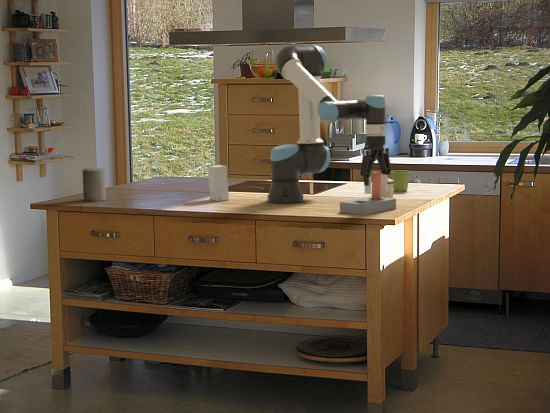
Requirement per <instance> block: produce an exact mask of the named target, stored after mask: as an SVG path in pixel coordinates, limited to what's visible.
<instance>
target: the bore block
mask: <svg viewBox="0 0 550 413" xmlns="http://www.w3.org/2000/svg"><path fill="white" fill-rule="evenodd" d="M391 209H392V210H395V209H397V198H394V197H393V198H385V197H381V199H380V200H372V195H371V196H366V197H361V198H355V199H348V200H345V201H344V200H343V201H339V213H344V214H351V215H358V214H359V216H368V215H373V214H376V213H377V212H378V213H381V211H383V212H387V211H391ZM386 210H387V211H386Z"/></svg>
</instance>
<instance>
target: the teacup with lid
mask: <svg viewBox="0 0 550 413" xmlns="http://www.w3.org/2000/svg"><path fill="white" fill-rule="evenodd" d="M393 183H394V182H393V180H392V178H389V177H388V181H387V191H381V197H385V198H394V190H393ZM371 184H372V181H371Z"/></svg>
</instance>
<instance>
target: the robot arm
mask: <svg viewBox="0 0 550 413" xmlns="http://www.w3.org/2000/svg"><path fill="white" fill-rule="evenodd" d="M327 58H328V57H327V55H326V52H325V50H323V48H322V47H320V46H319V45H314V44H313V45H312V44H303V45H301V44H299V45H297V44H290V45H286V46H284V47H282V48H280V50H278V52H277V54H276V56H275V59H274V60H275V68H276V70H277V72H278V73H279V74H280V75H281V76H282V78H283V79H285V80H289V81H290V82H291V83H292V84H293V85H294V86H295V88H297V90H298V91H297V92H298V114H299V115H298V116H299V118H298V119H299V140H297V141H296V144H294V143H291V144H283V145H277V146H275V147H273V148H272V149H271V150H270V157H269V159H270V178H271V183H270V186H269V190H268V191H269V192H268V194H267V202H268V203H272V204H295V203H301V202H303V201H304V194H303V192H302V188H301V185H300V176H301V175H310V174H314V175H315V174H318V173H319V174H320V173H323V172H325V171H326V169H327V168H328V167H329V165H330V162H331V152H330V150H329V148H328V146H326V145H325V141H324V140H323V139H322V138H321V124H320V122H321V121H323V122H334V121H336V122H337V121H347V120H348V121H349V120H365V135H366V136H365V145H366V146H367V150H362V158H361V166H360V173H359V176H361V177H363V185H364V194H367V195H372V183H371V182H372V176H371V175H372V172H373V171H372V170H373V168H374V164H375V162H377V163H378V165H379V168H380V172H381V191H387V181H388V178H389V177H388V175H391V173H390V172H391V171H392V167H391V166H392V165H391V161H390V160H391V159H390V155H389V151H390V149H389V147H384V146H385V145H386V106H387V105H386V96H385V95H383V94H382V95H381V94H373V95H371V94H370V95H366V96H365V99H356V98H355V99H348V100H337V99H336V98H335V97H334V96H333V94H331V93H330V91H328V90H327V89H326V88H325V87H324V86H323V85H322V84H321V83H320V80H321V79H322V77H323V73H324V72H325V70H327V69H326V68H327V66H328V59H327ZM320 120H321V121H320Z"/></svg>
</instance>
